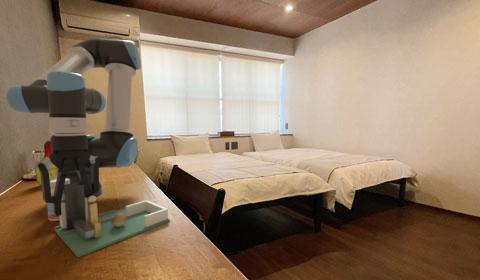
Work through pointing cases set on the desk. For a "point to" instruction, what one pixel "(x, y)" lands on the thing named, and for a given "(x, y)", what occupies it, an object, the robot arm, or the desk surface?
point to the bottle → (53, 169)
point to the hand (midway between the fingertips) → (74, 223)
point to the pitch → (105, 232)
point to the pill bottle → (50, 205)
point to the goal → (156, 211)
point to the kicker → (80, 211)
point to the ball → (119, 220)
